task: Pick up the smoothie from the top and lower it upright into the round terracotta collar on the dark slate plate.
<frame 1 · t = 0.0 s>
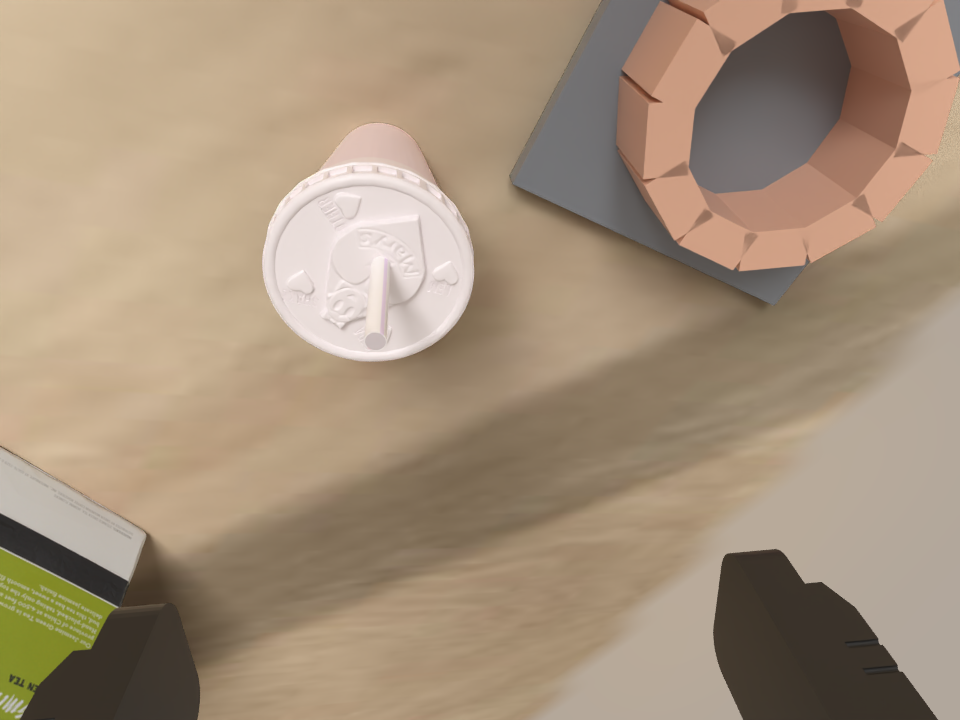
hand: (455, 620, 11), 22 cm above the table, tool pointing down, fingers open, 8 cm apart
smoothie: (380, 166, 30), on the table
collar: (742, 93, 29), on the table
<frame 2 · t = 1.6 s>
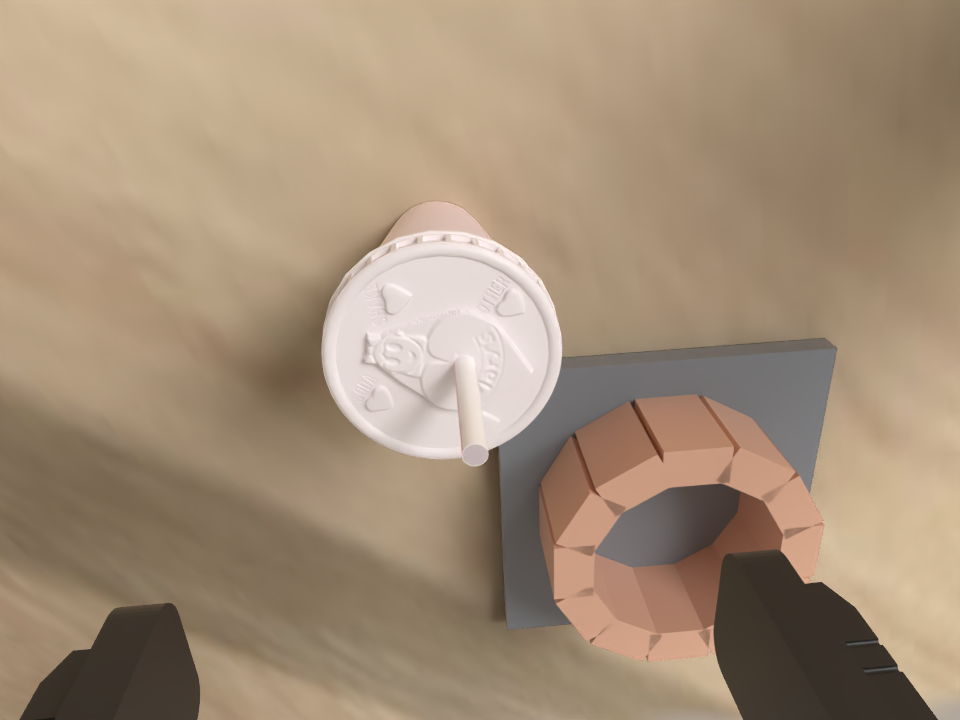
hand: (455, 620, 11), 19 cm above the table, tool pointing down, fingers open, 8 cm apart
smoothie: (436, 247, 27), on the table
collar: (651, 487, 33), on the table
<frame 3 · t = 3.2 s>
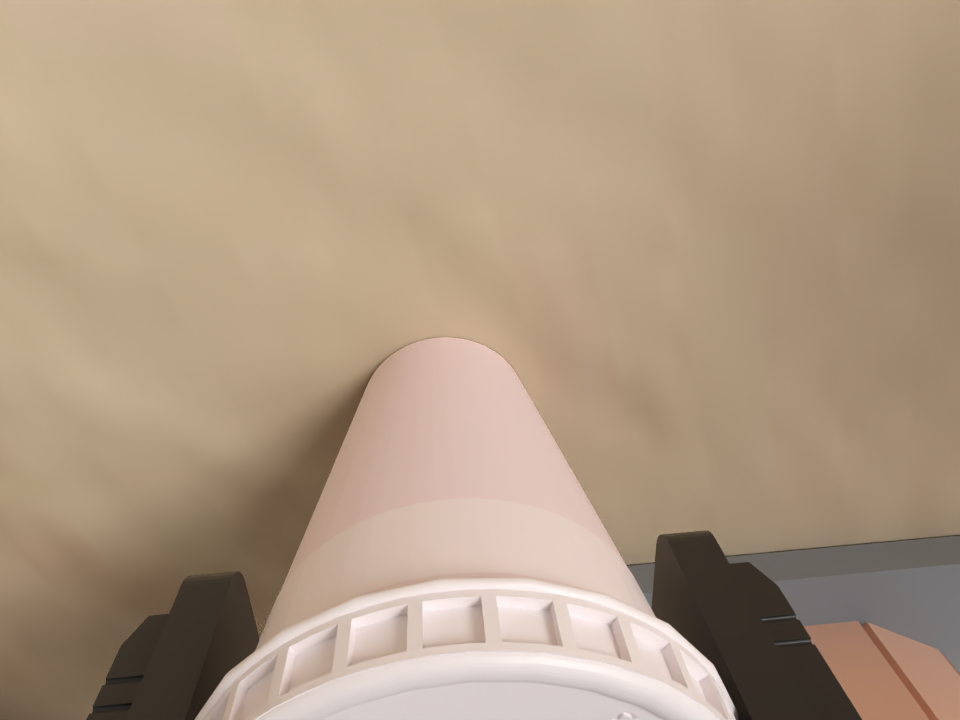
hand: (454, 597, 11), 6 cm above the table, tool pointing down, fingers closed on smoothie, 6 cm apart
smoothie: (443, 407, 16), on the table, touching gripper
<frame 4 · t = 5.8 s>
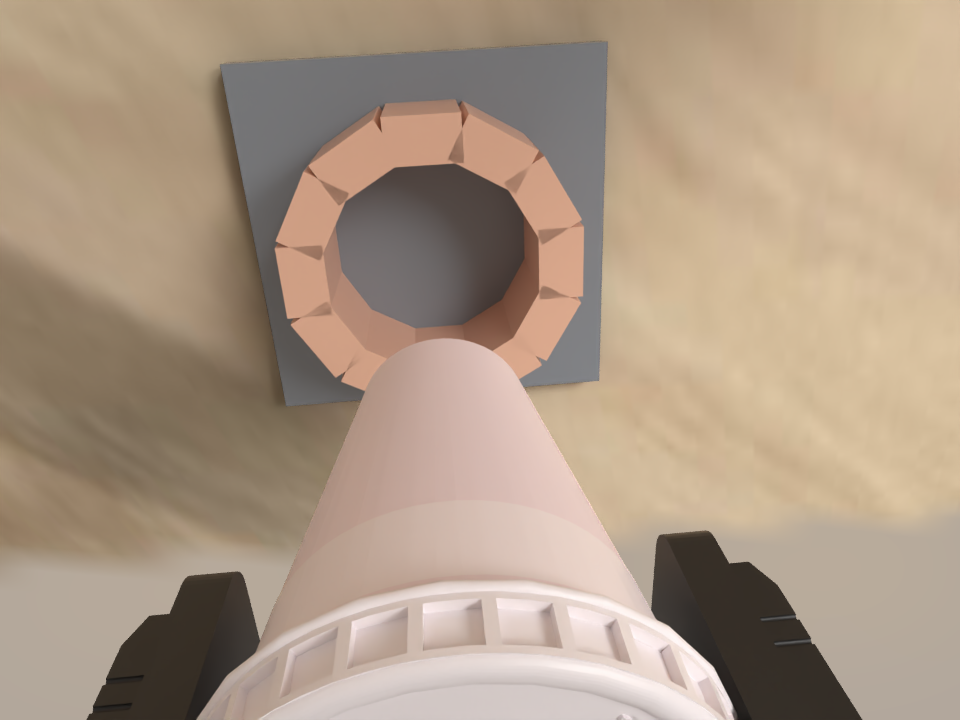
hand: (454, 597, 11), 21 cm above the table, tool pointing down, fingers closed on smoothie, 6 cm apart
smoothie: (443, 408, 16), point 15 cm above the table, touching gripper
collar: (431, 234, 30), on the table
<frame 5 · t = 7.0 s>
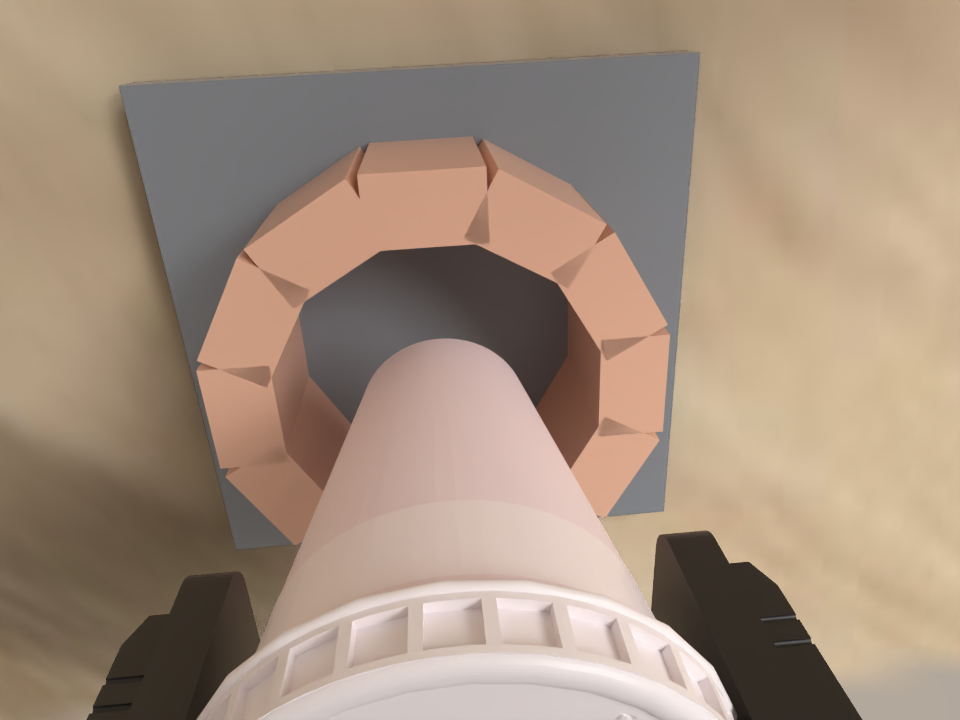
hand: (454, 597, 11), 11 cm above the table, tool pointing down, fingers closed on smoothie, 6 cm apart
smoothie: (443, 408, 16), point 5 cm above the table, touching gripper
collar: (436, 320, 21), on the table
when the fingers open (8 cm above the table, at t = 8.3 s): smoothie stays where it is, resting on collar.
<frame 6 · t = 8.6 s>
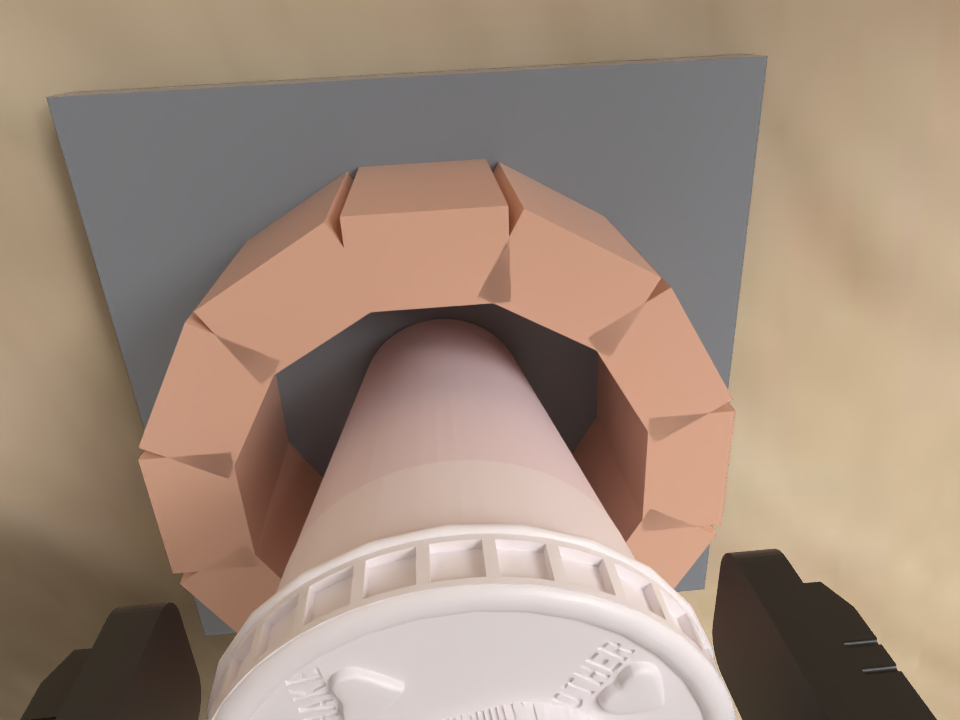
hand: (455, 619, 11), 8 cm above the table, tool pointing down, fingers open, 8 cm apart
smoothie: (442, 386, 17), point 1 cm above the table, touching collar
collar: (440, 373, 18), on the table
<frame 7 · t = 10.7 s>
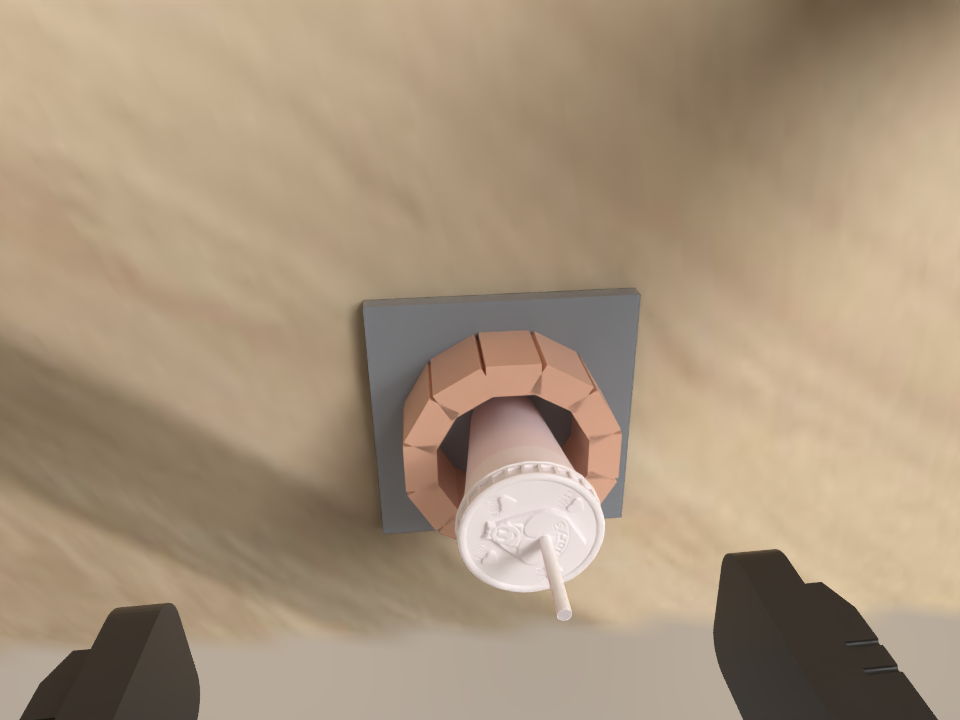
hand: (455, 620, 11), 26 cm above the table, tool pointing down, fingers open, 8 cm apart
smoothie: (504, 419, 39), point 1 cm above the table, touching collar
collar: (501, 412, 40), on the table
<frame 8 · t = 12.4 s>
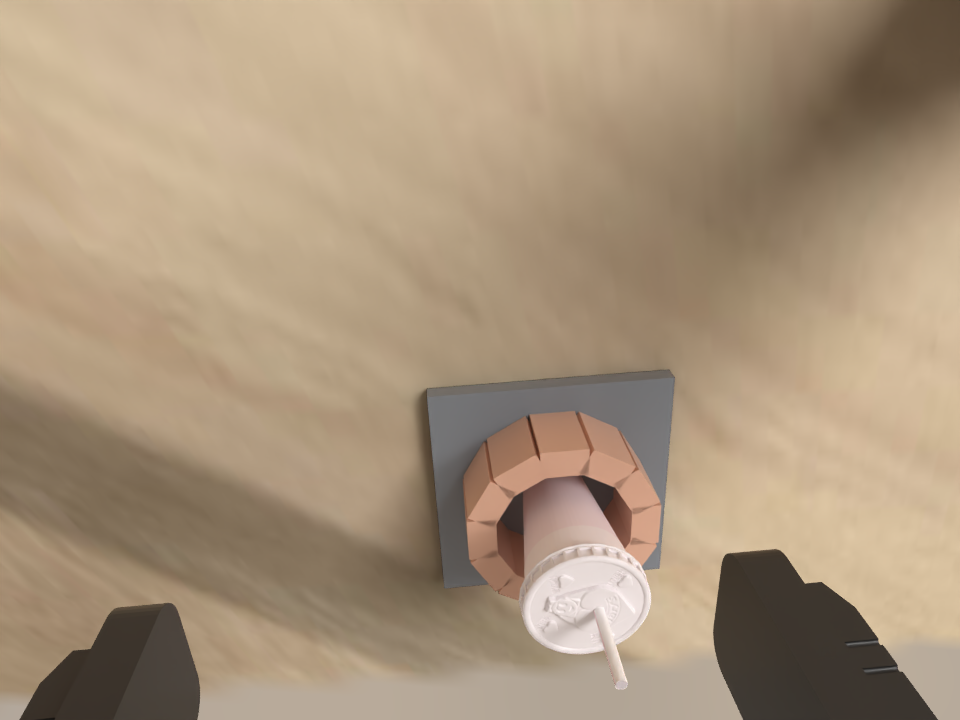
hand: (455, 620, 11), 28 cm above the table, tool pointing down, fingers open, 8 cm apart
smoothie: (552, 486, 43), point 1 cm above the table, touching collar
collar: (549, 479, 44), on the table
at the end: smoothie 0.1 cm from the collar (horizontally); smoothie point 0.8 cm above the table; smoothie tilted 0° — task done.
